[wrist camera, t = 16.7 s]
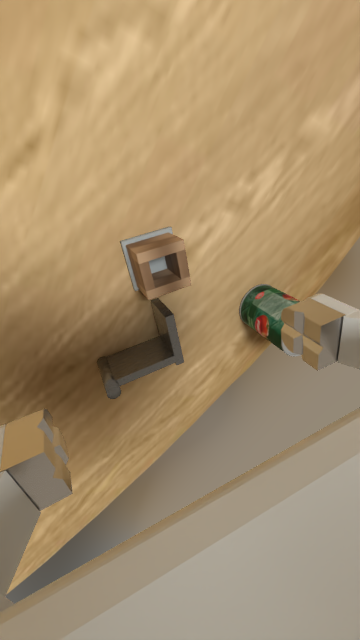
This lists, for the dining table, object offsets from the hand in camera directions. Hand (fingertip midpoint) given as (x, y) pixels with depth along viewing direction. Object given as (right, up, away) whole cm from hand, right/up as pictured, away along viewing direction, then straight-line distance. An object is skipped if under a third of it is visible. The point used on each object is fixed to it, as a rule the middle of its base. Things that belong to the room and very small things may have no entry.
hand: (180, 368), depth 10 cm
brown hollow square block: (-4, +10, +31) cm, 32 cm away
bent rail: (-8, -1, +35) cm, 36 cm away
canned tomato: (+14, +4, +43) cm, 45 cm away
